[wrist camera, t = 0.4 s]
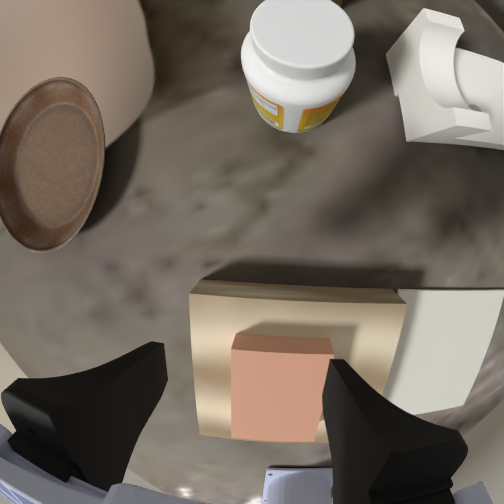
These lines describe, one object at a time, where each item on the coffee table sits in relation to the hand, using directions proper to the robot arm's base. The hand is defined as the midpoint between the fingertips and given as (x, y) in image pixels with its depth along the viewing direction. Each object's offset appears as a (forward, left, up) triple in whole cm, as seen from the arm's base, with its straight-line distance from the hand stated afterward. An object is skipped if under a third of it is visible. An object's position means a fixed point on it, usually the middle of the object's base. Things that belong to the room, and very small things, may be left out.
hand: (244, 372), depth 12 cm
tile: (-5, -2, -5) cm, 8 cm away
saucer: (+10, +18, -10) cm, 23 cm away
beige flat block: (-5, -3, -9) cm, 11 cm away
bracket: (+16, -16, -10) cm, 24 cm away
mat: (-5, -16, -9) cm, 19 cm away
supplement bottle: (+14, -2, -10) cm, 17 cm away
